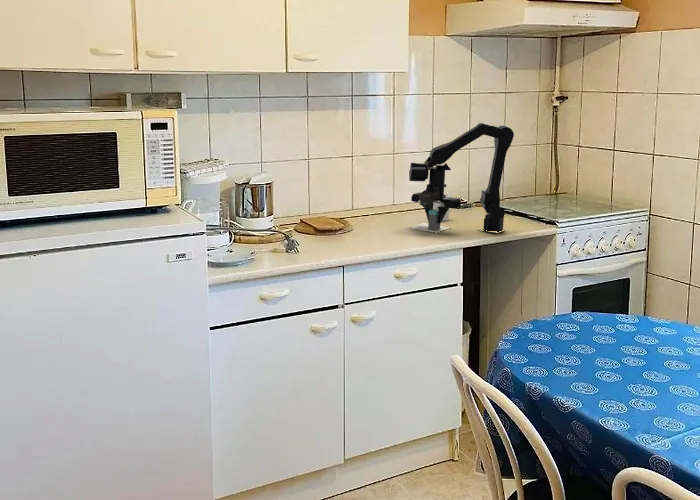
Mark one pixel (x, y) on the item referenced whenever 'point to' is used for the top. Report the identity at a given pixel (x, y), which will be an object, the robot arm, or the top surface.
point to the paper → (425, 227)
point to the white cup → (436, 205)
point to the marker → (433, 220)
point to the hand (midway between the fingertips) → (434, 222)
